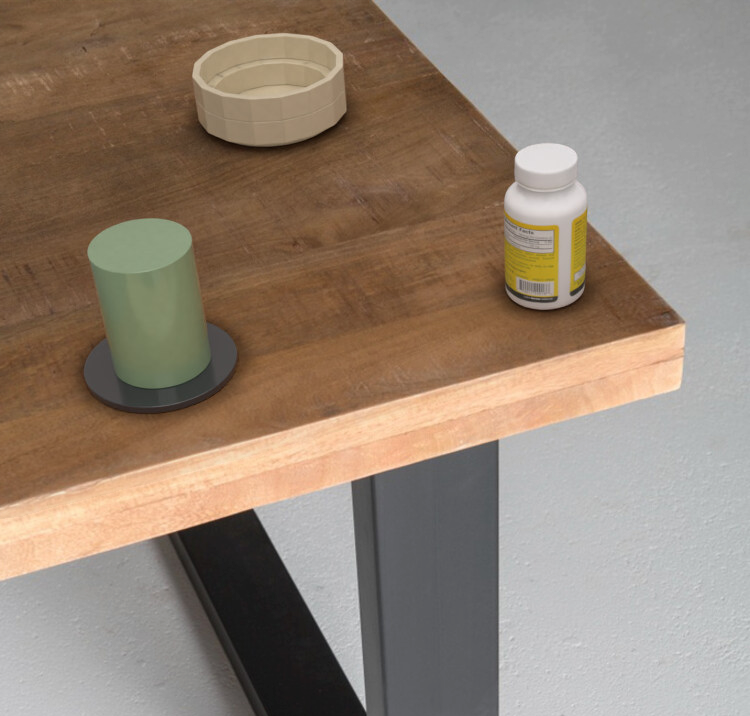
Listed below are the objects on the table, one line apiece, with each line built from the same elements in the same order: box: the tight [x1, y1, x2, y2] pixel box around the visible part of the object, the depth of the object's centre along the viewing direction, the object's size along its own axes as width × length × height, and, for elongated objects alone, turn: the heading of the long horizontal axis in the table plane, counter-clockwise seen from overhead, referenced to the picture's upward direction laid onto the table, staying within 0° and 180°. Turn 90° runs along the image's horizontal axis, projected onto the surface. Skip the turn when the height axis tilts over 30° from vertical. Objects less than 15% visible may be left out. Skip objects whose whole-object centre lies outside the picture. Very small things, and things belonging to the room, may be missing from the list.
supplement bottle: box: [503, 142, 589, 311], centre depth 92 cm, size 5×5×10 cm
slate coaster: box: [83, 321, 239, 414], centre depth 92 cm, size 10×10×1 cm
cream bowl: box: [191, 32, 348, 148], centre depth 116 cm, size 12×12×4 cm
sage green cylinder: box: [86, 217, 211, 389], centre depth 89 cm, size 6×6×8 cm
